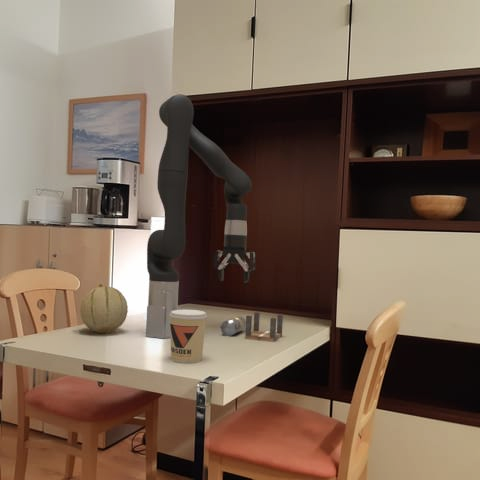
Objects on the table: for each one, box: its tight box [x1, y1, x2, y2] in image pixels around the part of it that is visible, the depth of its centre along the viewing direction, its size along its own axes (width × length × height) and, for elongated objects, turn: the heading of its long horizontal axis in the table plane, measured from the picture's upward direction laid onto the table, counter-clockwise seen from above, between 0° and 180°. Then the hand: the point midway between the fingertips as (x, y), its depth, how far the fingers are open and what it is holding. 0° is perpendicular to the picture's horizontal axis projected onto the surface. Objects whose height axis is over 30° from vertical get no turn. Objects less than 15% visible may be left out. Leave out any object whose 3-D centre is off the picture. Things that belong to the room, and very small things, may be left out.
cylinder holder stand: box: [244, 312, 284, 343], centre depth 157 cm, size 10×9×7 cm
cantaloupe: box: [79, 283, 129, 334], centre depth 154 cm, size 15×15×15 cm
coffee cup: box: [170, 309, 208, 364], centre depth 124 cm, size 9×9×12 cm
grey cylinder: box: [220, 315, 246, 337], centre depth 162 cm, size 11×5×5 cm, turn 161°
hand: (233, 281), depth 165 cm, fingers open, 8 cm apart
